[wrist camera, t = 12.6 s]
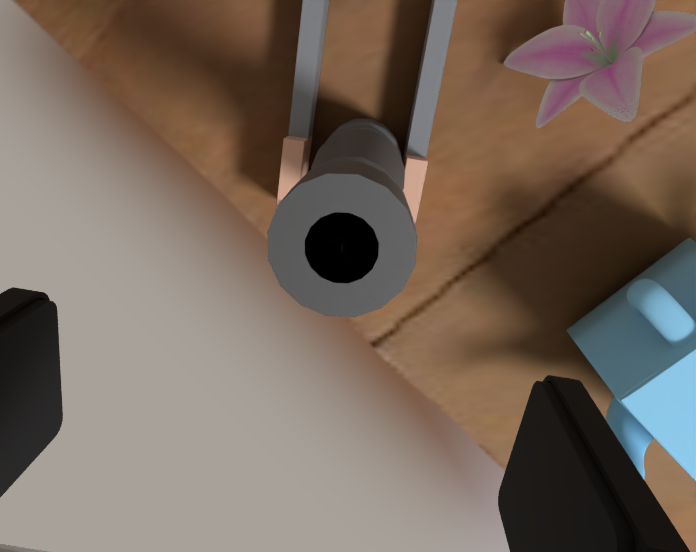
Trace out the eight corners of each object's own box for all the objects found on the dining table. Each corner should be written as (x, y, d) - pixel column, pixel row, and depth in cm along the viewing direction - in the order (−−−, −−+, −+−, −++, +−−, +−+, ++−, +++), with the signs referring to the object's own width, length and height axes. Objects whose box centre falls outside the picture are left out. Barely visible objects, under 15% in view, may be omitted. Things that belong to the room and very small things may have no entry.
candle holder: (394, 110, 42) (412, 151, 19) (405, 188, 44) (434, 311, 21) (317, 124, 43) (242, 180, 19) (332, 200, 45) (279, 333, 21)
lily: (659, -51, 38) (658, -122, 30) (731, 95, 37) (750, 64, 29) (504, 46, 44) (467, 9, 36) (560, 174, 43) (536, 166, 35)
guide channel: (313, -37, 39) (303, -53, 34) (455, -14, 39) (465, -26, 34) (286, 204, 45) (275, 218, 40) (408, 223, 45) (411, 240, 40)
